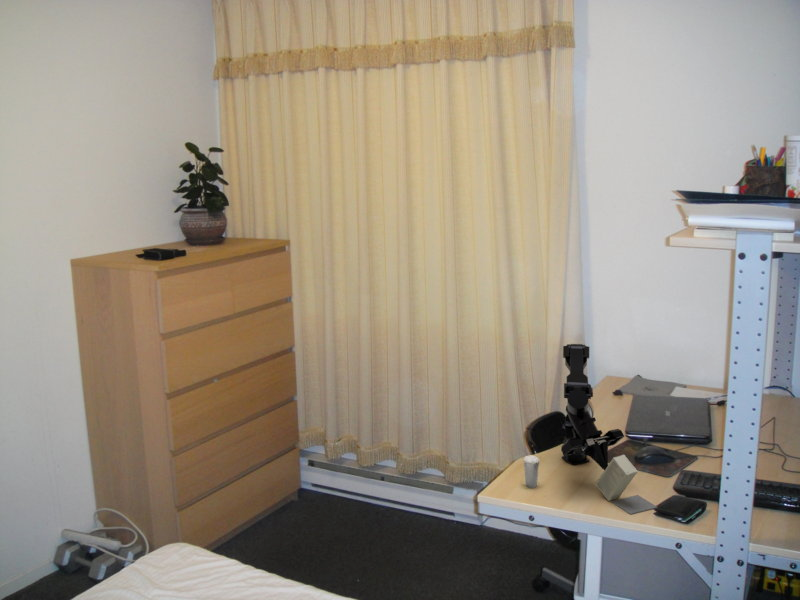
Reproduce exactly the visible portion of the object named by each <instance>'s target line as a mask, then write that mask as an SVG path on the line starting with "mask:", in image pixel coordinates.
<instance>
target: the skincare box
mask: <svg viewBox="0 0 800 600" xmlns="http://www.w3.org/2000/svg"><path fill="white" fill-rule="evenodd" d="M637 474H638V470H637V468H636V467H635V466H634V465H633V463H632V462H631V461H630V460H629V458H628V457H627V456H626V455H625V454H621V455H617V456H614V457H612V459H611V461H610V462H608V466H607V468H606V469H605V471H604V470H603V472H602V474H601V475H600V477H599V478H598V479H597V481H596V482H595V485H596V486H597V488H598V489H599V490H600V492H601V494H603V496H604V497H605V498H606V500H607V501H610V502H611V501H614V500H617V499H620V498H621V496H622V494H623V493H624V492H625V490H626V489H627V487H628V486H629V485H630V483H631V482H632V480H633V479H634V478H635V476H636V475H637Z"/></svg>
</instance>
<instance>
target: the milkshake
mask: <svg viewBox="0 0 800 600" xmlns="http://www.w3.org/2000/svg"><path fill="white" fill-rule="evenodd" d="M542 455H543V454H541V455H540V457H537V456H536V455H530V454H529V455H525V457H523V468H524V479H525V480H524V481H525V487H526V488H529V489H534V488H536V487H538V480H539V479H538V478H539V466H540V460H541V458H542Z"/></svg>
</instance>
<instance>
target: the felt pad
mask: <svg viewBox="0 0 800 600" xmlns="http://www.w3.org/2000/svg"><path fill="white" fill-rule="evenodd" d="M610 503H612V504H613V505H615V506H617V507H618V508H619V509H621V510H623V512H626V513H627V514H629V515H635V514H638V513H639V514H640V513H643V512H646V511H650V510H656V509H658V506H657V505H655V504H653V503H652V502H650V501H649V500H646V499H645V498H643V497H642V496H640V495H638V494H635V495H631V496H627V497H623V498H617V499H613V500H610Z"/></svg>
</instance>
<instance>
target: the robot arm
mask: <svg viewBox="0 0 800 600" xmlns="http://www.w3.org/2000/svg"><path fill="white" fill-rule="evenodd" d="M562 358H563V359H564V360H565V362H564V364H565V367H566V368H567V370H568V371H569V374H567V376H566V383H565V382H564V383H563V398H564V399H567V402H566V403H567V404H566V407H565V412H566V415H565V417H564V424H562V445H561V453H562V456H561V459H562V460H564V461H565V462H567V463H569V464H570V465H572V466H577V465H580V464H584V463H585V464H586V463H589V462H590V461H591V460H590V459H589V458H588V456H589V457H590V458H591V459H592V460H593V461H594V462H595V463H597V465H598V466H599V468H601V469H602V470H603V472H604V471H605V469H606V468H607V466H608V465H609V455H608V451H609V447H611V446H612V447H613V446H615V445H616V444H618V443H619V442H620V441H621V440H623V438H625V434H624V432H623V431H622V430H621V429H619V428H615V429H610V430H608V431H607V432H605V433H604V434H603V431H602V430H601V429H600V430H598V428H597V426H596V424H595V422H596V421H597V420H596V417H592V416H591V414H590V412H589V410H588V408H589V400H591V399H592V398H593V397H594V390H593V387H592V385H591V384H590V383H589V377H588V376H587V375H586V374H585V373H584V369H585V368H586V367H587V365H588V360H589V359H590V346H587V345H586V344H582V343H569V344H568V343H567V344H566V345H563V346H562ZM601 435H602V436H601Z"/></svg>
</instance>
